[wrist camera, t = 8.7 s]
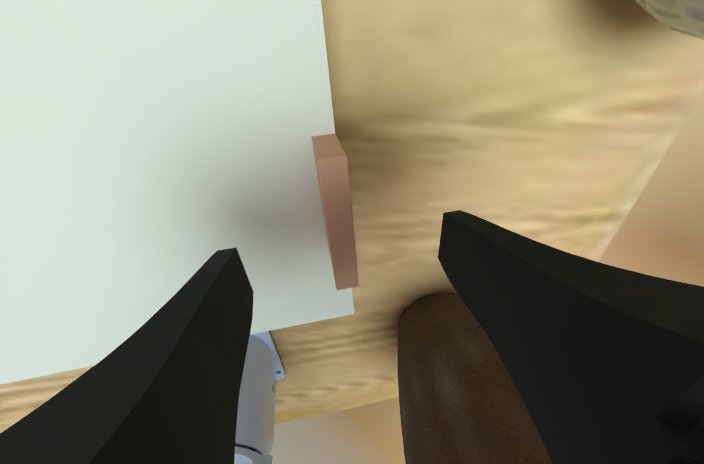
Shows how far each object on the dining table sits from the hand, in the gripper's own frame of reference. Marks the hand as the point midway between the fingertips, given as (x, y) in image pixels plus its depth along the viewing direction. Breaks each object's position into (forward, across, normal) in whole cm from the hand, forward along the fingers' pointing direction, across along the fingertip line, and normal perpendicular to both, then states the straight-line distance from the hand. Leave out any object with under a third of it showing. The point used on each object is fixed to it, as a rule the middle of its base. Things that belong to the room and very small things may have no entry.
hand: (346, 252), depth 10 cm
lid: (+5, +10, 0) cm, 11 cm away
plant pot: (+10, -9, +18) cm, 22 cm away
